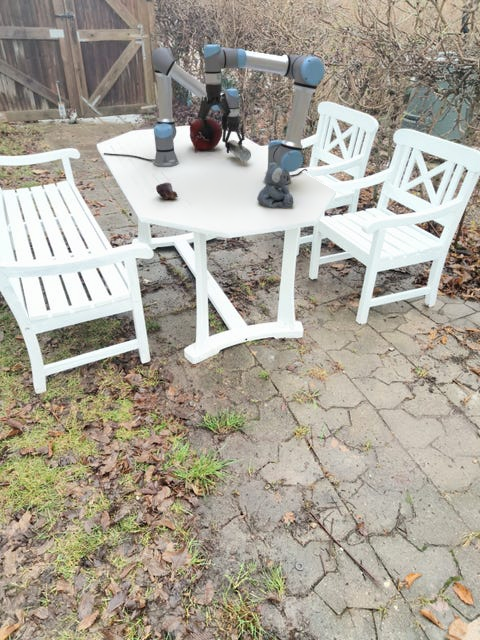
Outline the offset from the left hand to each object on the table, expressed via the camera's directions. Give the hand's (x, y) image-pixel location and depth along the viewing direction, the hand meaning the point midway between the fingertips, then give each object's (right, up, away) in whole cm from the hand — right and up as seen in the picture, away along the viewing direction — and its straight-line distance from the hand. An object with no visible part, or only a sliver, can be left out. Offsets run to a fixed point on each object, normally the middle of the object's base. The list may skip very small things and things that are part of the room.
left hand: (233, 151), depth 304 cm
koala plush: (+22, -54, -72) cm, 92 cm away
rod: (+3, -6, -7) cm, 10 cm away
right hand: (-8, -21, -82) cm, 85 cm away
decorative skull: (-20, +11, +23) cm, 33 cm away
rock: (-35, -49, -64) cm, 88 cm away
